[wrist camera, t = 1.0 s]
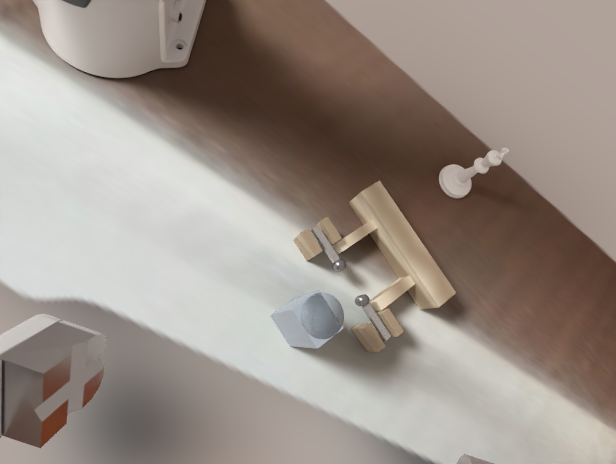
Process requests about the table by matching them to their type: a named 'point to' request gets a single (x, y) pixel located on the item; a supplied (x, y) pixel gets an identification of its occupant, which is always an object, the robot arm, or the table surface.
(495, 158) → the chess piece
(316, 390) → the table surface
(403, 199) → the table surface
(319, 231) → the plunger
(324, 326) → the peg
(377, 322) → the plunger
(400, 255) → the light wooden frame
